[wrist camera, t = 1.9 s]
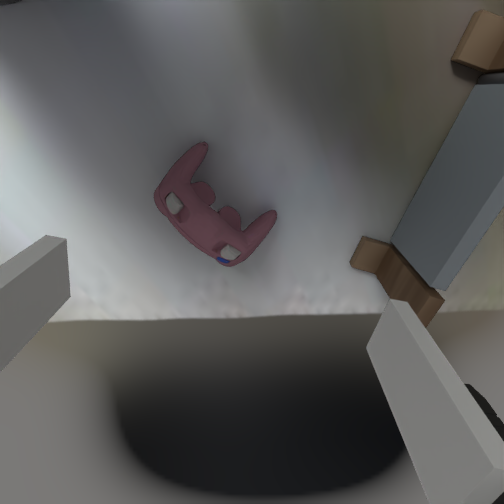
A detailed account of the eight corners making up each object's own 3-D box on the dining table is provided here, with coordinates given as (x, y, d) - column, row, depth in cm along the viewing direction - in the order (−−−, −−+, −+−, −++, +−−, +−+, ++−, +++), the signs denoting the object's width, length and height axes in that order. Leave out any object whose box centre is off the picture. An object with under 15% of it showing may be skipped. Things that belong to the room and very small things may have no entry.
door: (389, 239, 30) (431, 288, 23) (480, 71, 24) (582, 61, 16) (412, 246, 30) (462, 297, 23) (508, 81, 24) (621, 76, 17)
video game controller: (177, 162, 29) (133, 207, 25) (203, 132, 26) (157, 177, 22) (253, 233, 32) (226, 285, 28) (284, 213, 29) (260, 268, 25)
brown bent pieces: (349, 262, 32) (379, 320, 24) (474, 12, 23) (592, -32, 15) (404, 278, 32) (451, 339, 24) (547, 41, 23) (698, 14, 15)
